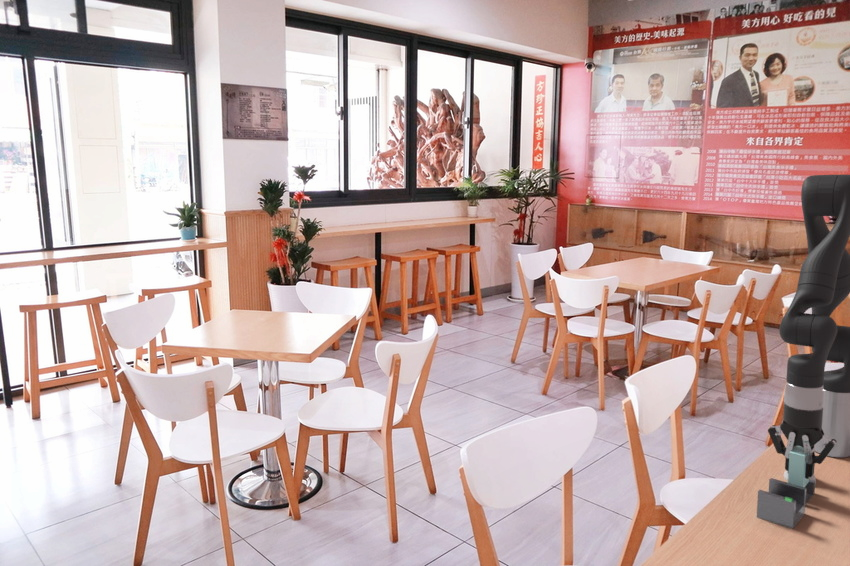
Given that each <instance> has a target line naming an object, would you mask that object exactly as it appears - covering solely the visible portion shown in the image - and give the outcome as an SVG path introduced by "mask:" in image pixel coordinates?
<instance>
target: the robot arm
mask: <svg viewBox="0 0 850 566" xmlns="http://www.w3.org/2000/svg"><path fill="white" fill-rule="evenodd" d="M800 199H801V208H802V216H803V222H804V228H805V234H806V241H807V256H806V258H805V259H804V261H803V262H802V264H801V268H800V270H799V277H798V280H797V287H796V291H795V294H794V297H793V299H792V301H791V303H790V305H789V307H788V308H787V310H786V311H785V314H784V315H783V317H782V319H781V321H780V325H779V329H778V330H779V332H778V333H779V335H780V338H781V339H782V341H783V342H785V344H788V345H795V346H802V347H810V348H811V353H810V352H809V353H800V354H799V353H798V354H797V353H796V354H793V355H790V357H788V359H787V365H786V366H787V367H786V382H785V387H784V393H783V413H782V422H781V423H780V425H775V424H772V425H771V426H770V427H769V428H768V429H767V433H768V435H769V438H770V439H771V441H772V444H773V446H774V448H775V451H776V453H777V454H779V455H783V456H784V457H785V463H784V468H785V470H786V471H788V473H789V453H790V451H791V450H793V449H794V448H795V447H796V446H801V447H803V448H804V453H805V454H806V456H807V458H806V462H807V463H806V472H805V478H806V479H809V478H810V477H812V475H813V474H814V475H815V464H818V465H821V464H822V463H823V462H824V461H825V460H826V458H827V457H832V458H847V457H848V458H850V326H846V325H837V323H836V321H835V319H833V318H832V317H831V315H832V314H833V312H834V311H835V310H836V308H837V307H838V306H839V305H840V304H841V303H843V302H844V301H845V300H846V299H847V297H848V296H849V295H850V253H849V251H848V250H847V248H846V246H847V244H848V241H849V238H850V174H815V175H809V176H807V177H806V178H805V179H804V181H803V183H802V186H801V194H800ZM825 217H836V221H835V223H834V224H833V226H832V228H831V229H829V227H828V225H827V223H826V221H825ZM809 309H811V313H806V311H808V310H809ZM827 361H830V362H836V363H840V364H841V363H842V364H843V367H840V368H838V369H837V368H836V369H832V370H831V369H830V370H826V371H825V369H826V364H827ZM782 434H783V435H784V437H785V438H786V440H787V443H786V445H785V443H784V441H783V438H782V436H781V435H782ZM816 453H817V454H818V455H816Z"/></svg>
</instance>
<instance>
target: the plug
mask: <svg viewBox="0 0 850 566" xmlns="http://www.w3.org/2000/svg"><path fill="white" fill-rule="evenodd" d="M806 458H807V456H806V454H805V453H804V448H803V447H801V446H796V447H795V448H794V449H793V450H791V451H790V453H789V473H788V481H787V483H791V484H794V485H798V486H801V487H805V486H806V485H807V483H808V482H809V479H806V478H805V472H806V463H807V462H806Z"/></svg>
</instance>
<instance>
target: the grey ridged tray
mask: <svg viewBox="0 0 850 566" xmlns="http://www.w3.org/2000/svg"><path fill="white" fill-rule="evenodd" d="M815 486H816V485H815V481H814V480H810V479H809V482H808V483H807V485H806V486H805V488H806V502H805V506H806V505H807V504H808V502H809V501H810V500H811V499H812V497H813V496H814V494H815V490H816V487H815Z"/></svg>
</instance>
